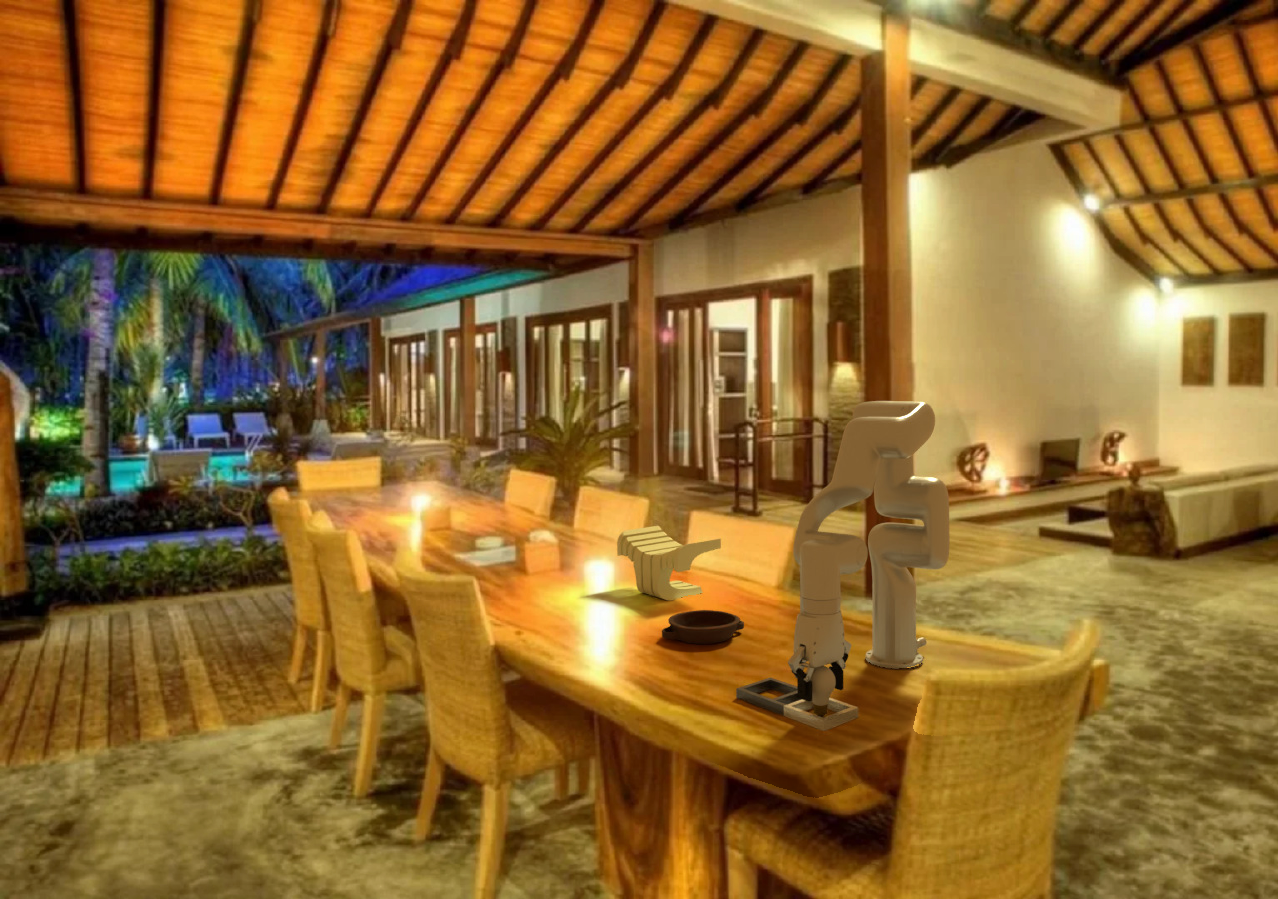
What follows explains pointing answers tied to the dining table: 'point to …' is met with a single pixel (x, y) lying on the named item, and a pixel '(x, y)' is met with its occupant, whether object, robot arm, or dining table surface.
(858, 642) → the dining table surface
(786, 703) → the rail
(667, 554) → the slatted curved stool
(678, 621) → the dish
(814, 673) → the light bulb
